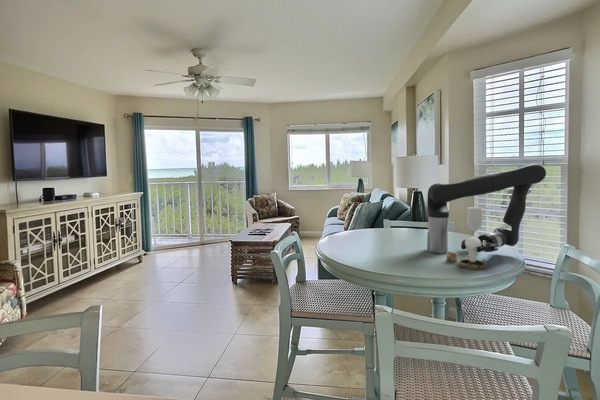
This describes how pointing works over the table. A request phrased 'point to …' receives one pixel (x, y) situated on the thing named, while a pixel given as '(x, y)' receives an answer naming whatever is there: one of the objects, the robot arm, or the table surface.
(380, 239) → the table surface
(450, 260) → the oak stub
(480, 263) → the holder ring
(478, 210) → the cup
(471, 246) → the lightbulb
